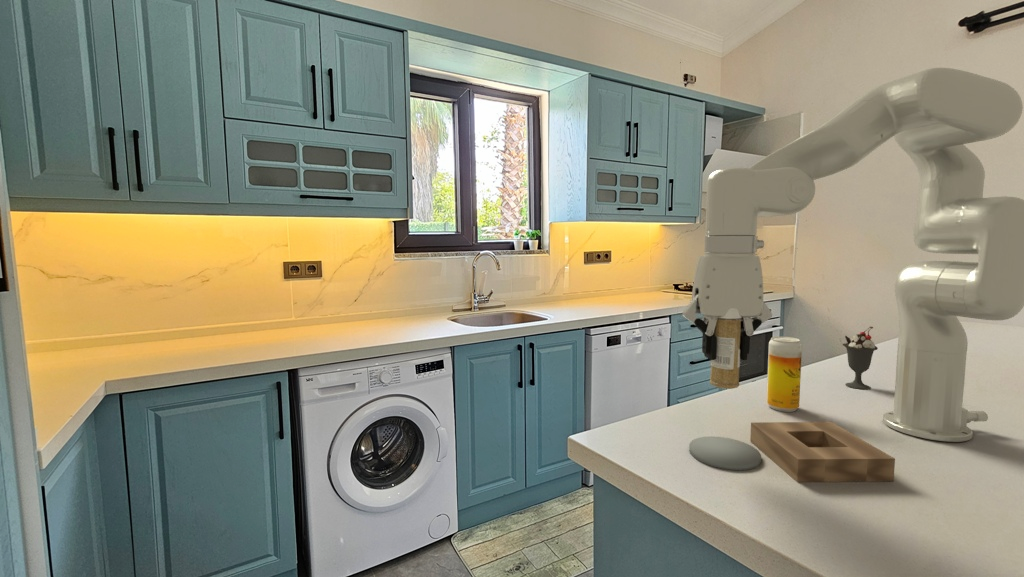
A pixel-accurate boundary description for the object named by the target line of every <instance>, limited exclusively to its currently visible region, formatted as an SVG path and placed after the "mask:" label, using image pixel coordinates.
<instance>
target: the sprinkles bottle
mask: <svg viewBox="0 0 1024 577" xmlns="http://www.w3.org/2000/svg"><path fill="white" fill-rule="evenodd" d="M741 318H742V317H741V316H739V312H738V310H737V309H735V308H731V309H729V310H728V311H727V313H726V315H725V316H723V317H718V318H717V322H716V326H715V329H714V336H716V337H717V345H716V359H715V360H710V379H709V383H710V385H711V386H712V387H713V386H714V387H716V388H719V389H725V390H726V389H727V390H733V389H737V388H739V386H740V382H739V380H740V366H741V359H740V332H741V329H740V328H741Z"/></svg>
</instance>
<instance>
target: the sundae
mask: <svg viewBox="0 0 1024 577" xmlns="http://www.w3.org/2000/svg"><path fill="white" fill-rule="evenodd" d="M871 329H874V326H869V327H868V328H867V329H866V330H864V331H860V333H859V334H858V333H857V334H854V335H853V336H852V337H851V338H850V337H848V335H845V336H844V338H845V340H846V343H842V346H843V347H845V348H846V354H847V362H848V367H849V368H850V369H851V370H852V371H853V372H854V374H855V375H854V380H853V381H852V382H846V383H845V386H846V387H847V388H851V389H857V390H870V389H871V385H870V386H869V385H867V384H865V383H863V380H862V374H863V373H865V372H866V371H868V370H869V369H870V366H871V363H872V358H873V354H874V352H875V351H876V350H877V351H878V346H876V344H875V343H874V341H873V340H872V336H871V335H870V334H869V332H870V330H871ZM866 331H867V334H866Z"/></svg>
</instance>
